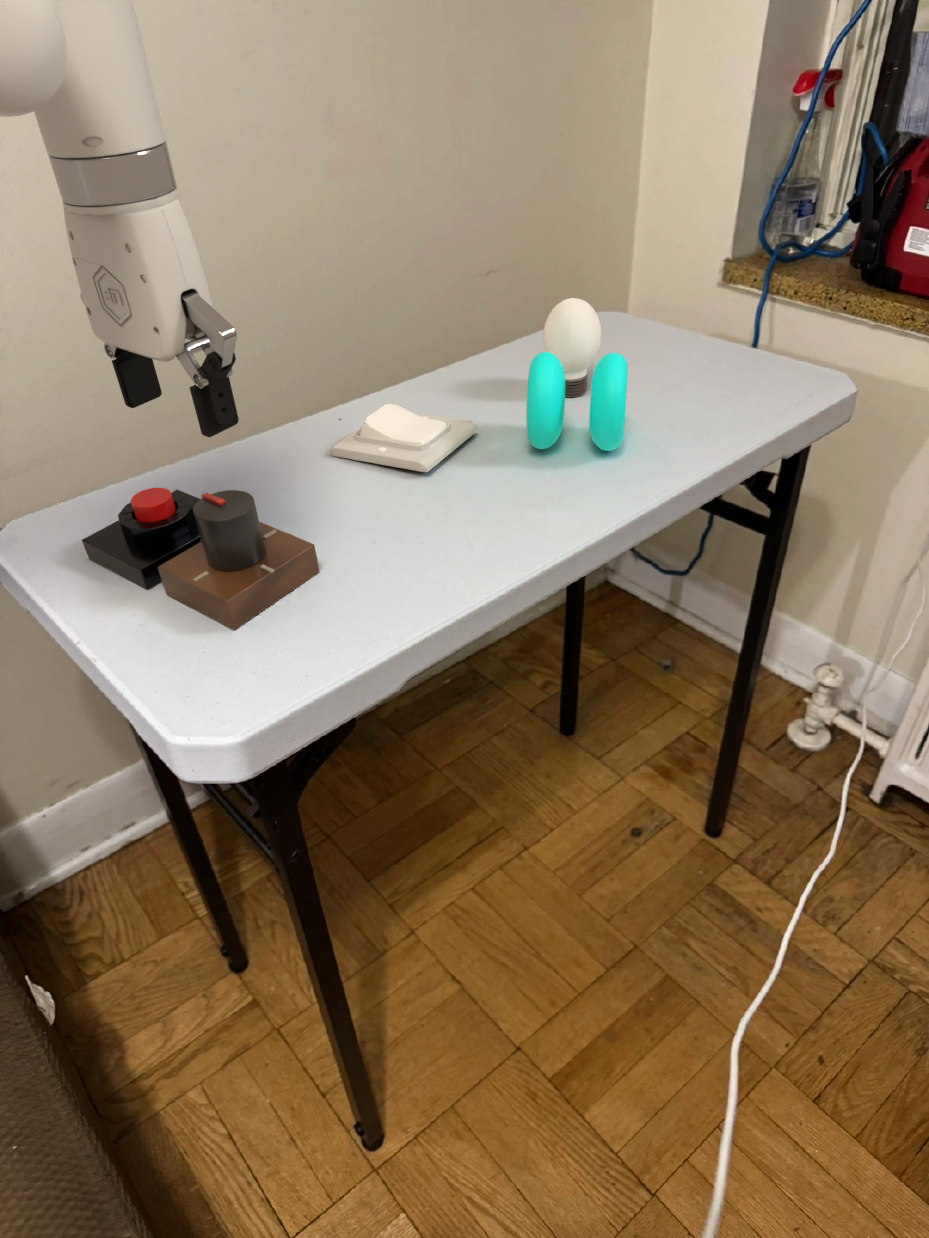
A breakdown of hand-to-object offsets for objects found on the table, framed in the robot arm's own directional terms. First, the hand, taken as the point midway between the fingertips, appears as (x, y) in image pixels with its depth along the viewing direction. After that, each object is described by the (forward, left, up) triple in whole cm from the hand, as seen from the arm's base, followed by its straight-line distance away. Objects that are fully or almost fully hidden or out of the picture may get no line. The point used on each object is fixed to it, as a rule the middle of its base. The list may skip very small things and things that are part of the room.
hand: (181, 415), depth 69 cm
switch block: (0, +8, -15) cm, 17 cm away
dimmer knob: (0, -3, -12) cm, 13 cm away
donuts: (+38, -14, -16) cm, 43 cm away
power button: (0, +8, -12) cm, 14 cm away
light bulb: (+50, -6, -16) cm, 52 cm away
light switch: (+28, +2, -16) cm, 32 cm away
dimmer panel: (0, -3, -15) cm, 16 cm away
